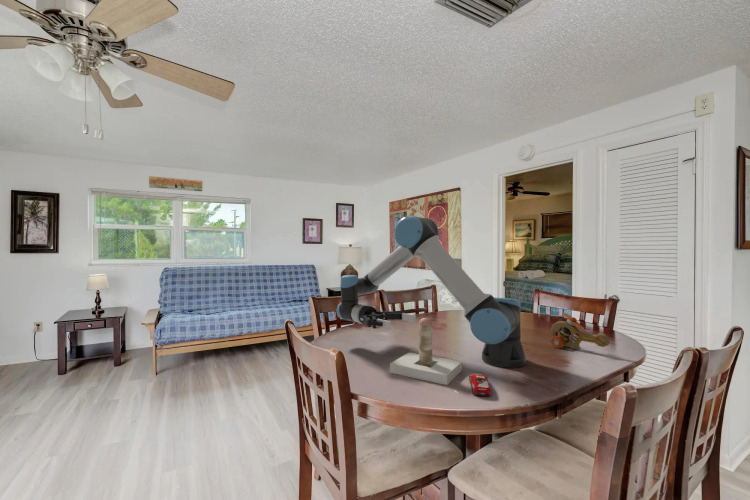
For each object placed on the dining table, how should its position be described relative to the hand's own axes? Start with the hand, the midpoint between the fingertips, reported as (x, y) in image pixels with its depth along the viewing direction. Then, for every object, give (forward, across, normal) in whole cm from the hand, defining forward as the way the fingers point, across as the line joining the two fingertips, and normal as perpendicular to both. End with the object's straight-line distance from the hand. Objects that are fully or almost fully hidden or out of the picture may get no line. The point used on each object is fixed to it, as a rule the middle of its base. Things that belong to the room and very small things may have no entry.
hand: (403, 322), depth 123 cm
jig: (+11, +1, -15) cm, 19 cm away
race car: (+30, 0, -16) cm, 34 cm away
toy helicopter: (+39, -59, -16) cm, 73 cm away
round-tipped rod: (+11, +1, -15) cm, 19 cm away
